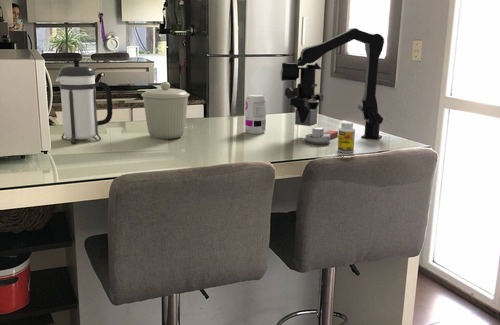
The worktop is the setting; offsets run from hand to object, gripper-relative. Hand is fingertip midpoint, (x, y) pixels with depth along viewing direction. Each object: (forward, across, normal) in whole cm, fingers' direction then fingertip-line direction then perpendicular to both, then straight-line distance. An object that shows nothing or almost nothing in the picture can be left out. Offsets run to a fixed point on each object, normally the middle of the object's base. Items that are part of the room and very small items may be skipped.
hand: (306, 121), depth 212 cm
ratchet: (+6, +1, +8) cm, 10 cm away
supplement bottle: (+6, +15, +22) cm, 27 cm away
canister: (+6, +30, -45) cm, 54 cm away
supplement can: (+6, +3, -21) cm, 22 cm away
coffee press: (+6, +51, -67) cm, 84 cm away
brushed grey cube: (+1, 0, 0) cm, 1 cm away
